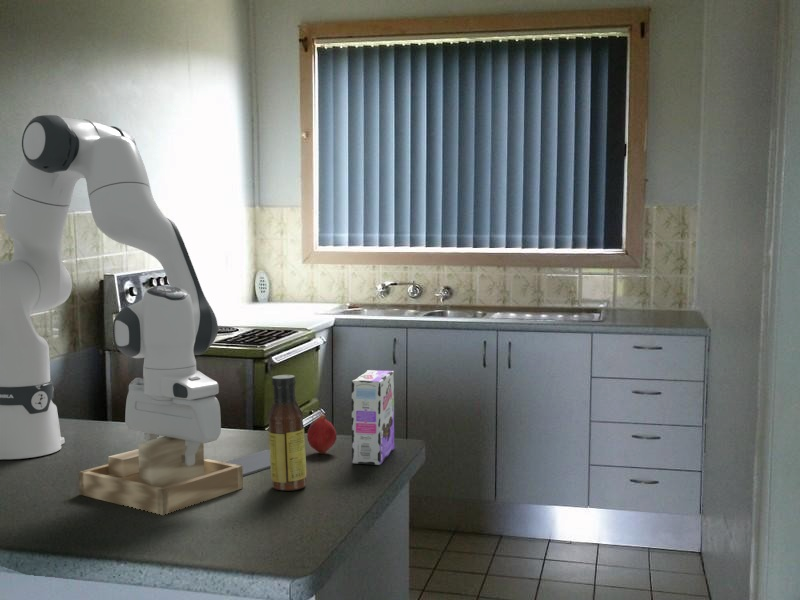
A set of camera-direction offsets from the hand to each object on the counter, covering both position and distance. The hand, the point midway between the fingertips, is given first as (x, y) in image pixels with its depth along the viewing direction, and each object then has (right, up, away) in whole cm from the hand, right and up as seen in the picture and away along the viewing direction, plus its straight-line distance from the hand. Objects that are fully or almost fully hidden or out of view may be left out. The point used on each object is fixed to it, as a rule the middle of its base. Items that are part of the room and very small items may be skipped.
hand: (172, 461), depth 165 cm
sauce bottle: (+19, -6, +4) cm, 21 cm away
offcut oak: (-10, -6, +2) cm, 12 cm away
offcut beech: (-8, -3, +6) cm, 10 cm away
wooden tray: (-2, -6, +2) cm, 6 cm away
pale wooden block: (0, -6, +1) cm, 6 cm away
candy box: (+34, -4, +26) cm, 43 cm away
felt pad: (+11, -4, +21) cm, 24 cm away
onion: (+23, -3, +28) cm, 37 cm away
